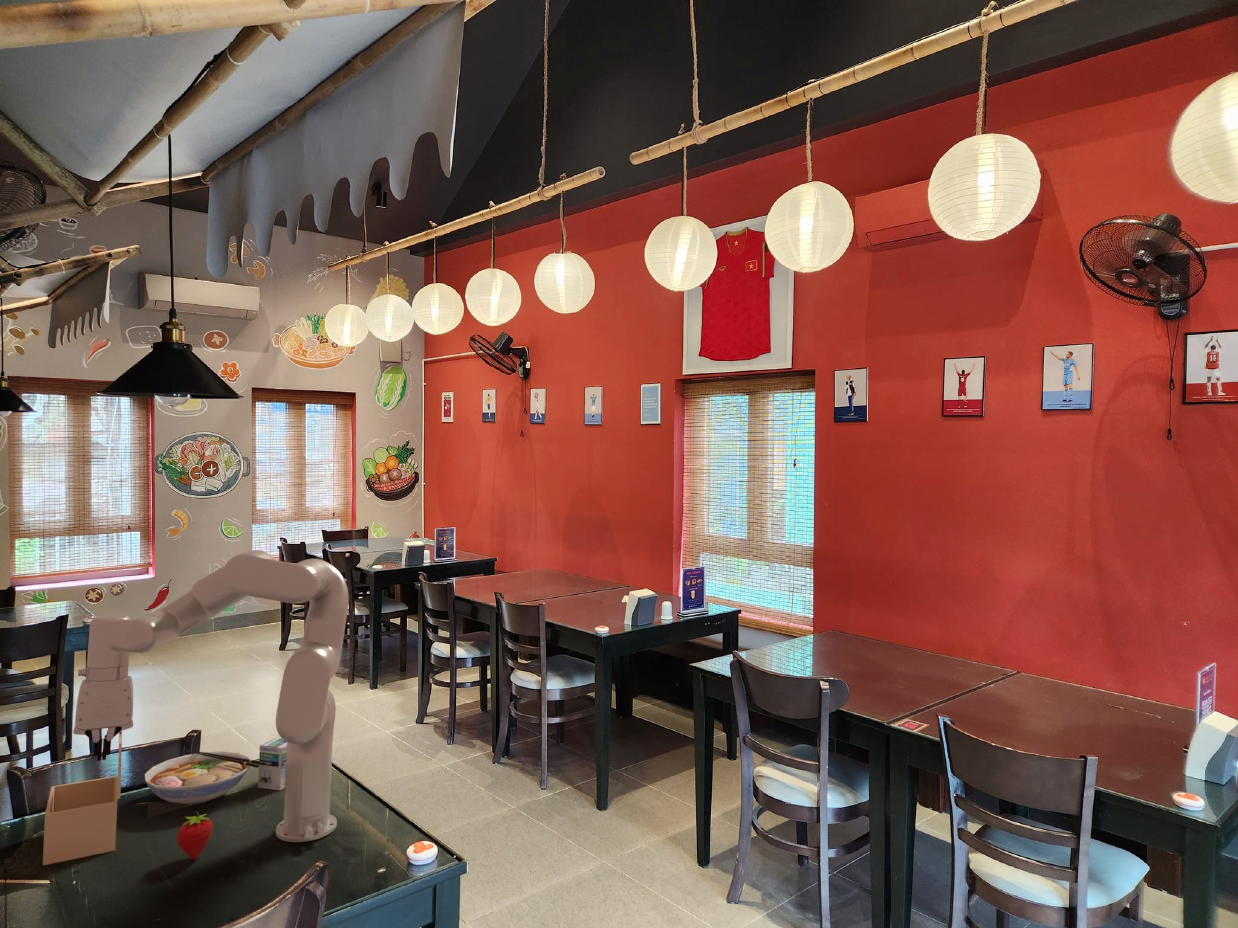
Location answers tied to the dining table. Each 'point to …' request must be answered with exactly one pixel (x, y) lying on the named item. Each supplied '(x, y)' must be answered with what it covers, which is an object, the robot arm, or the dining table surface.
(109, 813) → the cardboard carton
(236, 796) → the dining table surface
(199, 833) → the strawberry
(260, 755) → the light bulb box
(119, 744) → the carton flap
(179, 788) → the ramen bowl
